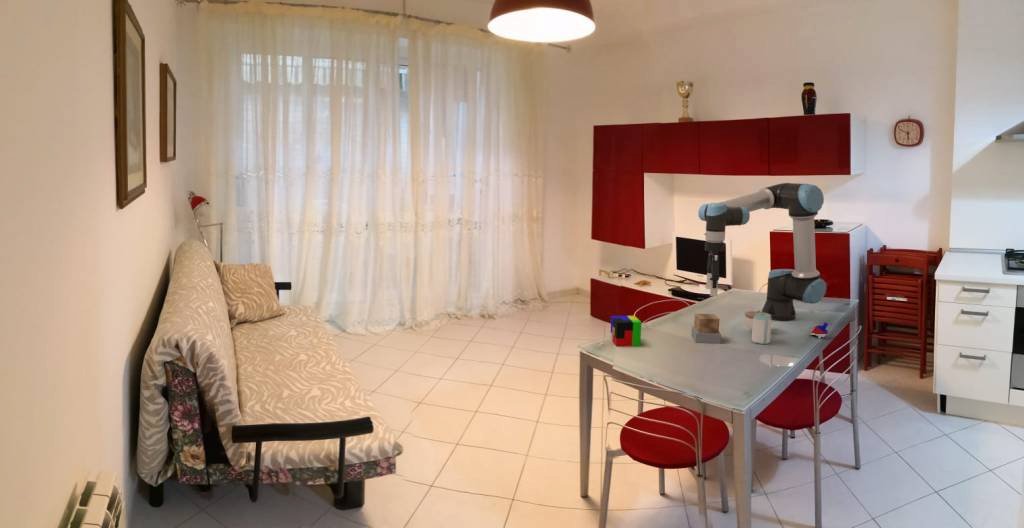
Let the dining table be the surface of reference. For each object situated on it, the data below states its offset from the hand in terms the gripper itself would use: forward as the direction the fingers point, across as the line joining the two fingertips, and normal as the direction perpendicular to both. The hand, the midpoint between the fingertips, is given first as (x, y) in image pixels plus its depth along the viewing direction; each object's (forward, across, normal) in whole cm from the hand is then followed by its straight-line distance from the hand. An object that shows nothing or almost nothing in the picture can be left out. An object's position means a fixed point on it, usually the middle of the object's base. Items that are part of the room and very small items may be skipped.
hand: (711, 292), depth 258 cm
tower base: (+20, 0, -1) cm, 20 cm away
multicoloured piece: (+21, -14, +47) cm, 53 cm away
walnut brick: (+16, 0, -1) cm, 16 cm away
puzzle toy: (+21, +11, -34) cm, 42 cm away
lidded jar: (+21, -17, +22) cm, 35 cm away
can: (+21, -1, +21) cm, 29 cm away
